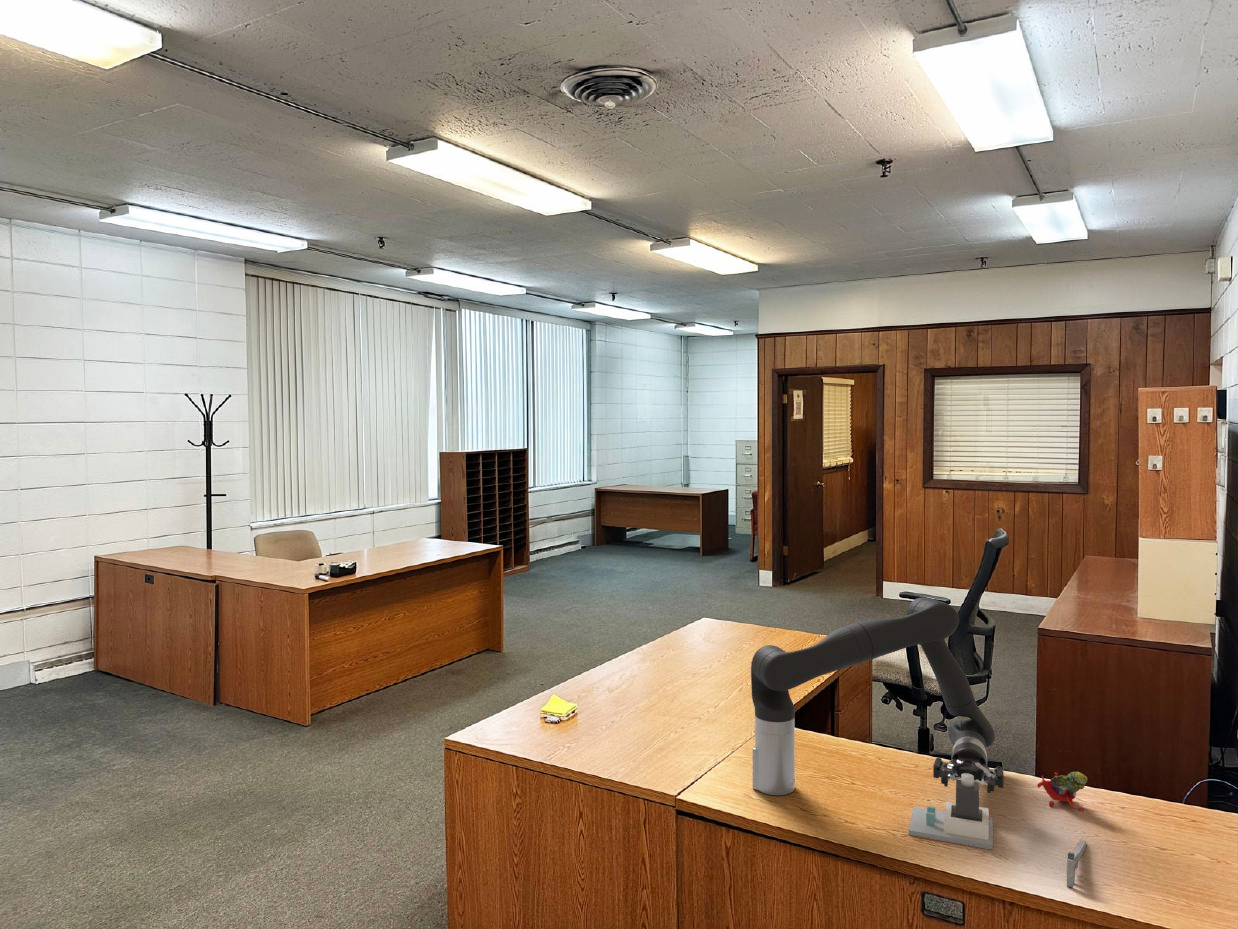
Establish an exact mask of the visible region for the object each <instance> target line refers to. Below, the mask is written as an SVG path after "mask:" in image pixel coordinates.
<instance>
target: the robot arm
mask: <svg viewBox="0 0 1238 929" xmlns="http://www.w3.org/2000/svg"><path fill="white" fill-rule="evenodd" d="M959 618H960V617H959V614H958V612H957V610H956V609H955V608H953V606H951V605H950V604H948V603H946V602H945V601H941V600H936V599H933V598H930V597H918V598H915V599H914V600H912V601H911V602H910V604H909V605H908V608H907V611H906V615H905V616H901V617H895V618H894V617H892V618H880V619H879V618H878V619H867V620H863V621H858V622H854V623H851V624H848V625H845V626H842V627H838V628H837V629H836V630H833V631H832V632H830V633H828V635H827V636H825V637H824V638H823V639H822V640H820V641H819V642H817V643H815V644H813V645H811V646H809V647H806V648H801V649H796V650H793V651H792V650H791V651H786V650H784V649H782V648H781V647H779V646H777V645H773V644H768V645H763V646H762V647H760V648H758V649H757V650H756V652H755V653H754V654H753V657H752V659H751V666H750V680H751V681H750V683H751V685H750V686H751V699H752V704H753V706H754V747H753V748H752V789H753V790H757V791H759V792H761V793H763V794H766V795H770V796H786V795H790V794H791V793H793V792H794V791H795V790H796V789H795V788H796V786H795V783H796V782H795V781H796V779H795V775H796V774H795V773H796V770H795V768H796V766H795V764H796V763H795V760H796V758H795V756H796V754H795V753H796V752H795V750H796V749H795V746H796V745H795V736H796V735H795V733H796V732H795V717H796V716H795V715H796V714H795V710H796V709H795V705H794V703H793V700H792V698H791V696H790V690H792V689H795V688H796V687H799V686H801V685H802V684H805V683H808V682H809V681H811V680H814V679H816V678H819V677H821V676H823V675H827V674H830V673H833V672H837V671H840V670H844V669H847V668H850V667H853V666H857V665H859V664H862V663H863V664H864V663H866V662H868V661H872V660H875V659H877V658H880V657H884V656H886V655H889V654H891V653H895V652H898V651H901V650H903V649H907V648H910V647H912V646H917V645H920V647H921V649H922V651H923V653H924V655H925V657H926V659H927V662H928V663H929V666H930V668H931V670H932V672H933V674H934V677H935V679H936V682H937V684H938V687H939V690H940V693H941V696H942V699H943V702H944V704H945V708H946V710H947V712H948V713H949V714H950V715H951V716H953V717H962V718H966V719H962V720H961V719H960V720H956V721H953V722H951V723H950V724H949V725H948V730H947V734H948V737H949V741H950V742H951V744H952V746H953V747H952V751H951V760H950V761H948V762H944V760H942V758H941V757H936V758H935V759H934V762H933V766H932V768H933V769H932V772H933V774H932V777H933V778H934V779H939V778H940V784H941V785H943V786H944V787H946V788H948V787H949V786H948V785H949V781H953V782H954V781H956V779H957V780H961V774H963V773H968V774H971V775H973V776H974V782H978V783H979V785H981V786H986V787H987V788H986V790H987V794H992V792H995V790H996V786H997V787H998V788H999V789H1004V788H1005V785H1004V784H1005V783H1004V782H1005V775H1004V770H1003V767H1002V766H999V765H997V766H996V767H995V768H990V767H989V766H988V754H987V748H988V747H990V746H992V745H993V744H994V742H995V739H996V734H995V731H994V727H993V726H992V724H991V723H990V721H989V720H988V718H987V717H986V716H985V714H984V713H983V712H982V710H981V708H980V707H979V705H978V703H977V701H976V699H975V696H974V693H973V691H972V688H971V685H970V681H969V680H968V678H967V676H966V674H965V672H964V670H963V668H961V667H962V666H960V664H959V662H958V661H957V660H956V658H955V657H954V655H953V653H952V652H951V650H950V648H949V647H948V645H947V642H946V640H945V639H946V638H949V637H950V636H952V635H953V634H954V633H955V631H956V630H957V628H958V626H959V622H960V619H959Z"/></svg>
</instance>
